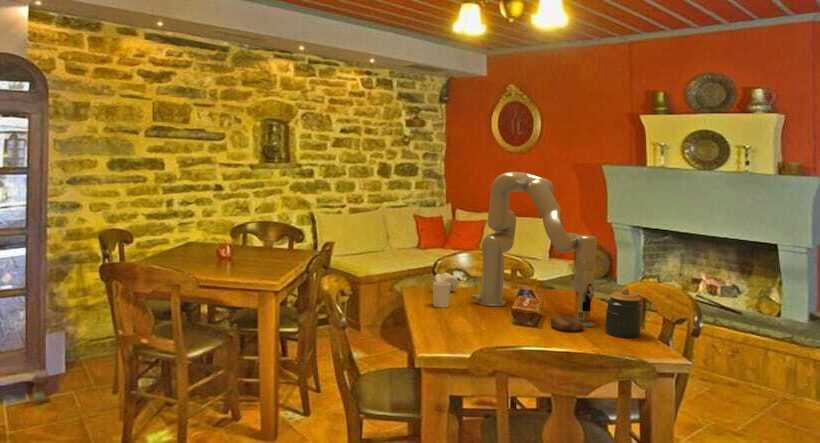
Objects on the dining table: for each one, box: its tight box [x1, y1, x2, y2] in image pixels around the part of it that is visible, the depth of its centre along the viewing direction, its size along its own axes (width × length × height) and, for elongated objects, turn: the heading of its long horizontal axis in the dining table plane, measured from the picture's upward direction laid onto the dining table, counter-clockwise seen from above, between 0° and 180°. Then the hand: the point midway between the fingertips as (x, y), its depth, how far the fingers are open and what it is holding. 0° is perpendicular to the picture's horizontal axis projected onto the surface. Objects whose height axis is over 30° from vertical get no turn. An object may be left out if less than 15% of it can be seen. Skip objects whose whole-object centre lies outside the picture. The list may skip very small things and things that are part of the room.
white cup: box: [432, 281, 451, 309], centre depth 261 cm, size 8×8×10 cm
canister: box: [604, 287, 644, 339], centre depth 228 cm, size 13×13×18 cm
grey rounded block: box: [434, 272, 459, 292], centre depth 289 cm, size 11×12×9 cm
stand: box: [550, 315, 584, 333], centre depth 233 cm, size 12×12×3 cm
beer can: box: [573, 285, 591, 322], centre depth 246 cm, size 6×6×15 cm
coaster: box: [582, 321, 596, 328], centre depth 239 cm, size 7×7×1 cm
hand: (582, 308), depth 247 cm, fingers closed on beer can, 6 cm apart
